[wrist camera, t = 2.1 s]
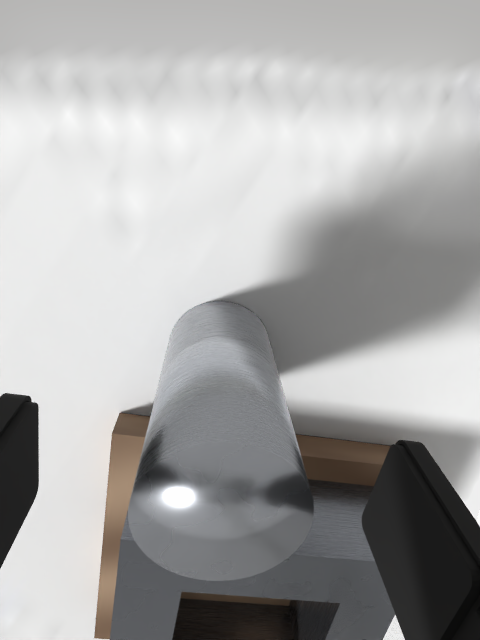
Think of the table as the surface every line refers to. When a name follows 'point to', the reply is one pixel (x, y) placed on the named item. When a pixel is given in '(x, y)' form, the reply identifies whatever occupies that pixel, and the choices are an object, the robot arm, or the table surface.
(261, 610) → the socket block
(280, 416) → the steel peg
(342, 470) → the dock board
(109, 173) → the table surface
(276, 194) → the table surface
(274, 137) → the table surface
